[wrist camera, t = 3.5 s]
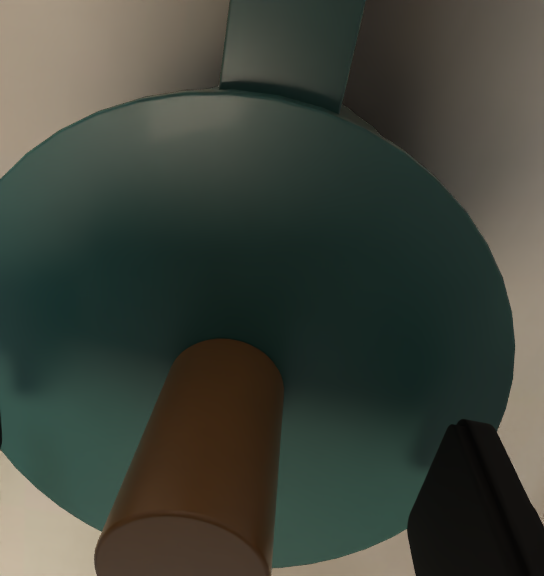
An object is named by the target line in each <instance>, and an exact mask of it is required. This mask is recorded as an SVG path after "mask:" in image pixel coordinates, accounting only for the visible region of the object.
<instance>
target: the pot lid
mask: <svg viewBox="0 0 544 576" xmlns="http://www.w3.org/2000/svg"><path fill="white" fill-rule="evenodd" d="M514 355H515V339H514V329H513V318H512V311H511V307H510V303H509V299H508V296H507V292H506V288H505V284H504V281H503V277H502V275H501V273H500V271H499V268H498V266H497V264H496V262H495V259H494V257H493V255H492V253H491V250H490V248H489V246H488V244H487V242H486V241H485V239H484V238H483V236H482V235H481V233H480V232H479V230H478V229H477V227H476V225H475V224H474V222H473V221H472V219H471V218H470V216H469V215H468V213H467V212H466V210H465V209H464V208H463V207H462V206H461V205H460V204H459V203H458V201H457V200H456V199H455V198H454V197H453V196H452V195H451V194H450V193H449V191H448V190H447V189H446V188H445V187H444V186H443V185H442V184H441V182H440V181H439V180H438V179H437V178H436V177H435V176H434V175H433V174H432V173H431V172H429V171H428V170H427V169H426V168H425V167H423V166H422V165H421V164H420V163H419V162H417V161H416V160H415V159H414V158H413V157H411V156H410V155H409V154H408V153H407V152H405V151H404V150H403V149H402V148H400V147H399V146H397V145H395V144H394V143H392V142H390V141H389V140H387V139H386V138H384V137H382V136H381V135H379V134H377V133H376V132H374V131H372V130H371V129H369V128H368V127H366V126H364V125H362V124H360V123H357V122H355V121H353V120H351V119H348V118H346V117H344V116H341V115H339V114H337V113H334V112H332V111H330V110H327V109H325V108H323V107H319V106H316V105H312V104H308V103H305V102H301V101H297V100H294V99H290V98H287V97H283V96H279V95H272V94H265V93H257V92H249V91H242V90H234V89H227V90H185V91H178V92H172V93H165V94H159V95H152V96H146V97H142V98H139V99H136V100H133V101H129V102H126V103H123V104H120V105H116V106H113V107H110V108H107V109H104V110H101V111H98V112H96V113H94V114H92V115H89V116H87V117H85V118H83V119H81V120H79V121H77V122H75V123H73V124H71V125H69V126H67V127H65V128H63V129H61V130H59V131H58V132H56V133H55V134H53V135H52V136H50V137H49V138H48V139H46V140H45V141H43V142H42V143H40V144H39V145H38V146H36V147H35V148H33V149H32V150H30V151H29V152H28V153H26V154H25V155H24V156H23V157H22V158H21V159H20V160H19V161H18V162H17V163H16V164H15V165H14V166H13V167H12V168H11V169H10V170H9V171H8V172H7V173H6V174H5V175H4V176H3V177H2V178H1V179H0V413H1V428H2V445H1V451H2V452H3V453H4V454H5V455H6V457H7V458H8V459H9V460H10V461H11V463H12V464H13V465H14V466H15V467H16V469H18V470H19V471H20V472H21V473H22V474H23V475H24V476H25V477H26V478H27V479H28V480H29V481H30V482H31V483H32V484H33V485H34V486H35V487H36V488H37V489H38V490H40V491H41V492H42V493H43V494H45V495H46V496H47V497H48V498H50V499H51V500H52V501H53V502H55V503H56V504H57V505H59V506H60V507H61V508H63V509H64V510H66V511H67V512H69V513H70V514H72V515H74V516H75V517H77V518H78V519H80V520H81V521H83V522H84V523H86V524H88V525H90V526H92V527H94V528H96V529H98V530H99V531H101V532H102V533H101V535H100V537H99V540H98V542H97V545H96V548H95V554H94V562H95V570H96V574H97V576H271V570H272V568H283V567H291V566H299V565H307V564H313V563H318V562H322V561H327V560H331V559H336V558H340V557H343V556H346V555H349V554H352V553H355V552H358V551H361V550H364V549H367V548H369V547H371V546H374V545H376V544H378V543H380V542H383V541H385V540H387V539H389V538H392V537H393V536H395V535H397V534H399V533H400V532H402V531H404V530H406V529H407V524H408V518H409V515H410V512H411V510H412V508H413V505H414V503H415V501H416V499H417V496H418V494H419V492H420V489H421V487H422V485H423V483H424V480H425V478H426V476H427V473H428V471H429V469H430V466H431V464H432V462H433V460H434V457H435V455H436V453H437V450H438V448H439V446H440V443H441V441H442V439H443V437H444V434H445V432H446V430H447V428H448V426H449V425H451V424H454V425H456V424H457V423H458V421H460V420H461V419H467V420H472V421H478V422H483V423H488V424H491V425H493V427H494V428H495V430H496V432H497V430H498V427H499V425H500V422H501V420H502V417H503V415H504V412H505V410H506V406H507V402H508V397H509V393H510V389H511V384H512V380H513V369H514Z"/></svg>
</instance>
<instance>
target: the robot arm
mask: <svg viewBox="0 0 544 576" xmlns="http://www.w3.org/2000/svg"><path fill="white" fill-rule="evenodd" d="M1 445H2V428H1V413H0V449H1ZM407 533H408V539H409V544H410V549H411V554H412V559H413V564H414V569H415V574H416V576H544V526H543V524H542V522H541V520H540V518H539V516H538V514H537V512H536V510H535V509H534V507H533V505H532V504H531V503H530V500H529V498H528V496H527V494H526V492H525V490H524V488H523V486H522V484H521V482H520V480H519V478H518V475H517V473H516V471H515V469H514V467H513V465H512V463H511V461H510V459H509V457H508V455H507V453H506V450H505V448H504V446H503V444H502V442H501V440H500V438H499V436H498V434H497V432H496V430H495V428H494V427H493V425H491V424H488V423H483V422H478V421H472V420H467V419H461V420H460V421H458V423H457V424H456V425H454V424H451V425H449V426H448V428H447V430H446V432H445V434H444V437H443V439H442V441H441V443H440V446H439V448H438V450H437V453H436V455H435V457H434V460H433V462H432V464H431V466H430V469H429V471H428V473H427V476H426V478H425V480H424V483H423V485H422V487H421V489H420V492H419V494H418V496H417V499H416V501H415V503H414V505H413V508H412V510H411V512H410V515H409V518H408V524H407Z"/></svg>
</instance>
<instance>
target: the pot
mask: <svg viewBox="0 0 544 576" xmlns="http://www.w3.org/2000/svg"><path fill="white" fill-rule="evenodd" d="M365 3H366V0H230V3H229V11H228V18H227V26H226V34H225V42H224V50H223V57H222V65H221V73H220V81H219V86H218V87H214V88H209V89H205V90H227V89H234V90H242V91H249V92H257V93H265V94H272V95H279V96H283V97H287V98H290V99H294V100H297V101H301V102H305V103H308V104H312V105H316V106H319V107H323V108H325V109H327V110H330V111H332V112H334V113H337V114H339V115H341V116H344V117H346V118H348V119H351V120H353V121H355V122H357V123H360V124H362V125H364V126H366V127H368V128H369V129H371V130H372V131H374V132H376V133H377V134H379V133H378V131H376V130H375V128H374V127H373V126H371V125H370V124H368V123H367V122H366V121H364V120H363V119H361V118H360V117H359V116H357V115H356V114H355V113H354V112H353V111H351V110H350V109H349V108H347V107H346V106H344V105H342V102H343V98H344V94H345V89H346V85H347V81H348V77H349V72H350V68H351V64H352V59H353V55H354V51H355V46H356V42H357V38H358V34H359V29H360V25H361V21H362V16H363V12H364V8H365ZM379 135H380V134H379Z"/></svg>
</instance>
